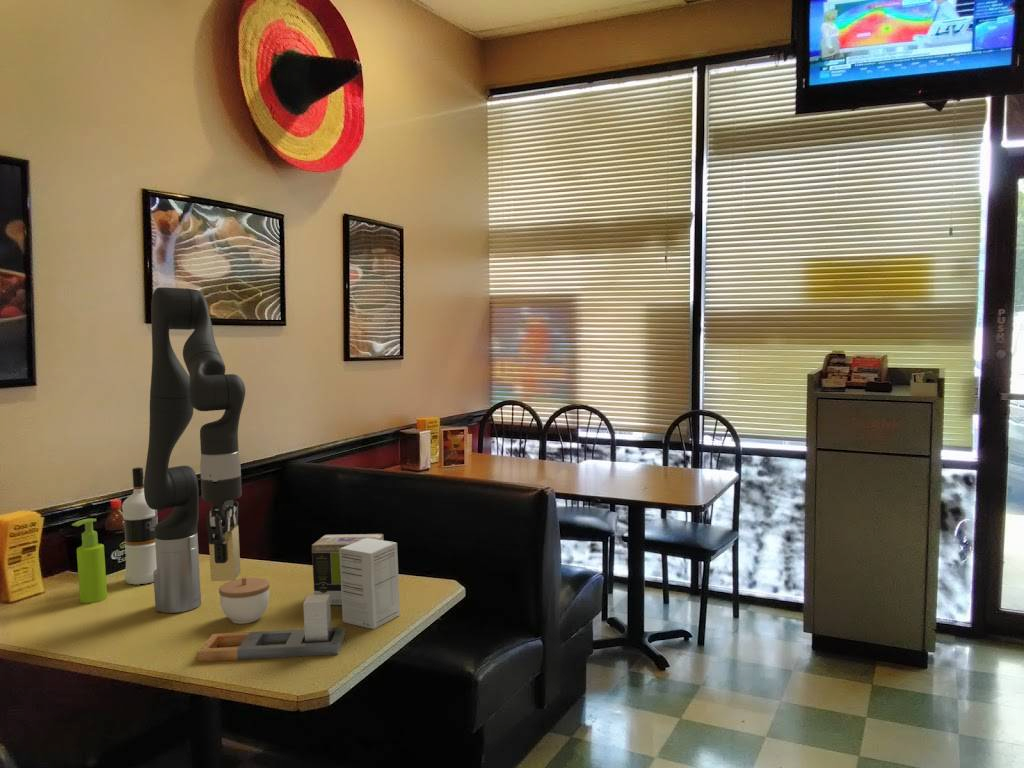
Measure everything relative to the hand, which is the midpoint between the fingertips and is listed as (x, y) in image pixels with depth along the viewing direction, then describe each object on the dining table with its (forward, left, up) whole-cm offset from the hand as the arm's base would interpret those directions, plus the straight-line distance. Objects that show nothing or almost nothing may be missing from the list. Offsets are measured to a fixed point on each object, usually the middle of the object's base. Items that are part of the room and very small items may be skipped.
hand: (224, 558), depth 155 cm
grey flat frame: (+9, 0, -19) cm, 21 cm away
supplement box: (+27, +14, -19) cm, 36 cm away
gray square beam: (+18, 0, -19) cm, 26 cm away
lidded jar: (-2, +18, -19) cm, 26 cm away
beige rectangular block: (0, 0, -4) cm, 4 cm away
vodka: (-37, +50, -19) cm, 65 cm away
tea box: (+20, +28, -19) cm, 39 cm away
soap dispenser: (-44, +36, -19) cm, 60 cm away
